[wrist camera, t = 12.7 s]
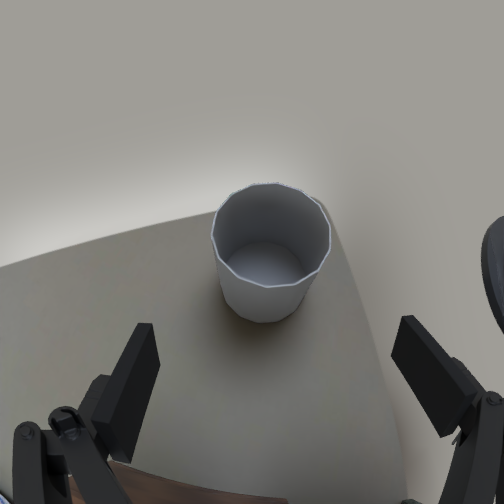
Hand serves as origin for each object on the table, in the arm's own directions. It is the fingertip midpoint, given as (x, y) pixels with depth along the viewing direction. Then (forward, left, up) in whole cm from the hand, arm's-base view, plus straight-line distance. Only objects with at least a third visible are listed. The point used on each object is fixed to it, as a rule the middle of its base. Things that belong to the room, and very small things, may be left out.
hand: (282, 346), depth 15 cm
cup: (+1, -8, -13) cm, 15 cm away
